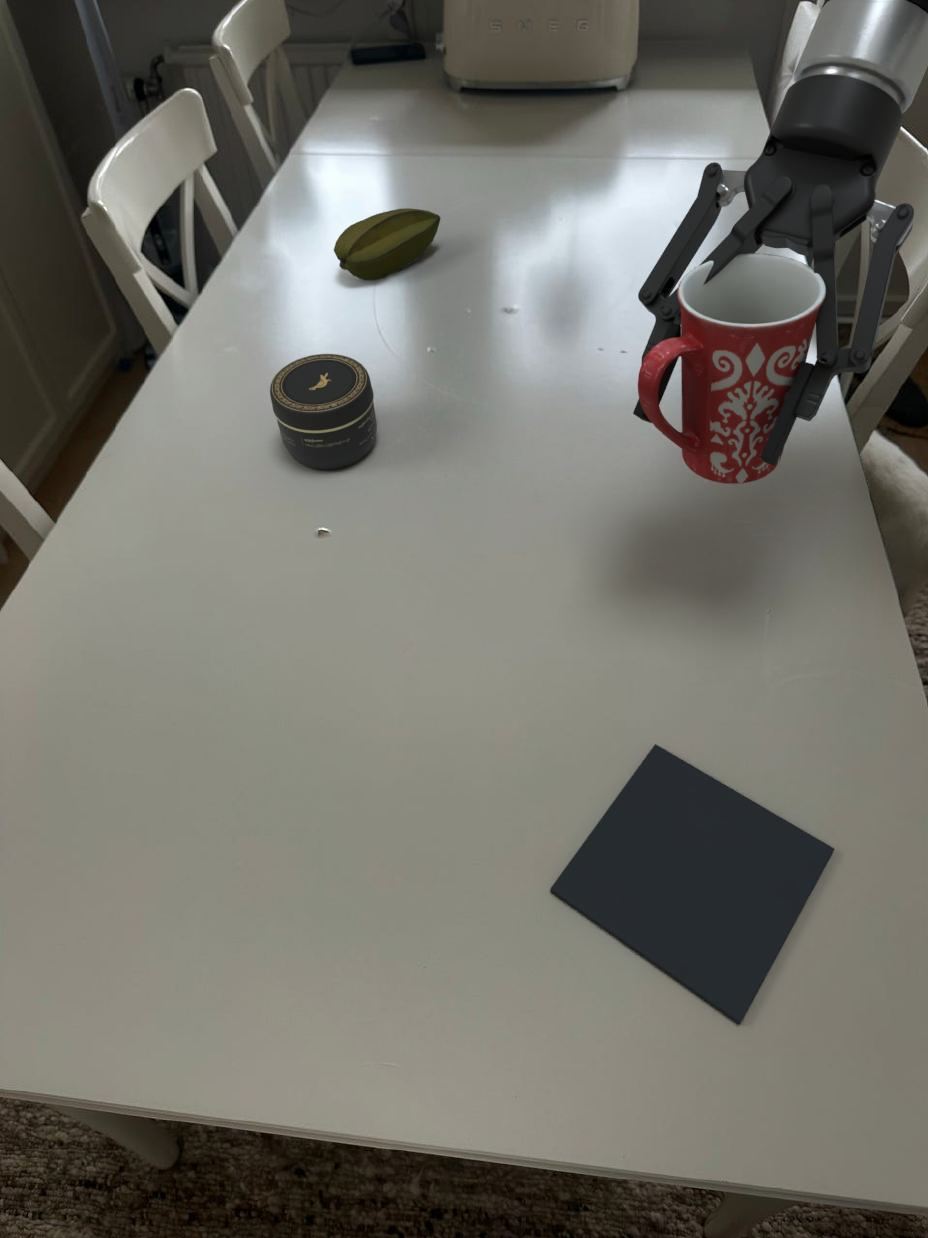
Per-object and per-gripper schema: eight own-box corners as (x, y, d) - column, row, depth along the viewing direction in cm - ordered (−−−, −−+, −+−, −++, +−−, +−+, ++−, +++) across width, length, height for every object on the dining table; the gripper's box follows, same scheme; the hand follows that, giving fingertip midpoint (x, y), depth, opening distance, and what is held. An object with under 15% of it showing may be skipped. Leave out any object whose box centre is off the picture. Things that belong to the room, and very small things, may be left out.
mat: (832, 852, 60) (834, 848, 59) (738, 1025, 53) (740, 1023, 52) (654, 747, 65) (655, 743, 65) (549, 892, 59) (550, 888, 58)
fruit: (355, 242, 116) (348, 193, 111) (443, 246, 114) (440, 195, 109) (334, 288, 109) (325, 237, 104) (428, 292, 107) (423, 241, 102)
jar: (384, 411, 93) (374, 349, 87) (376, 474, 86) (365, 412, 80) (292, 414, 93) (276, 352, 87) (277, 476, 87) (259, 414, 81)
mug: (744, 400, 69) (764, 236, 59) (821, 462, 63) (858, 292, 53) (607, 460, 67) (602, 300, 56) (673, 529, 61) (682, 365, 51)
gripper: (1018, 159, 54) (859, 498, 59) (701, 100, 63) (583, 402, 67) (1038, 98, 48) (857, 486, 52) (680, 42, 56) (550, 382, 60)
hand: (703, 439), depth 60 cm, fingers closed on mug, 8 cm apart
